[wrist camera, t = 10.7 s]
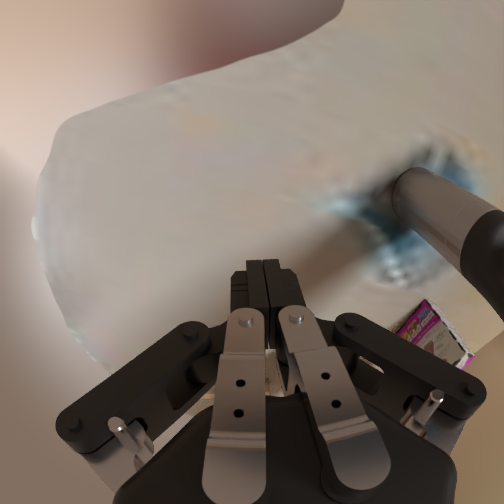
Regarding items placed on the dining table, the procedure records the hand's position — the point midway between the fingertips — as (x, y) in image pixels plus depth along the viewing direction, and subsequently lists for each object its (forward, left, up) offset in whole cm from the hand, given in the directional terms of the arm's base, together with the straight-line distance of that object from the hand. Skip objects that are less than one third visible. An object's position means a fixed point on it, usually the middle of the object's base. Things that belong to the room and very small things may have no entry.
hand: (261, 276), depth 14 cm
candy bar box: (-36, +31, -27) cm, 54 cm away
